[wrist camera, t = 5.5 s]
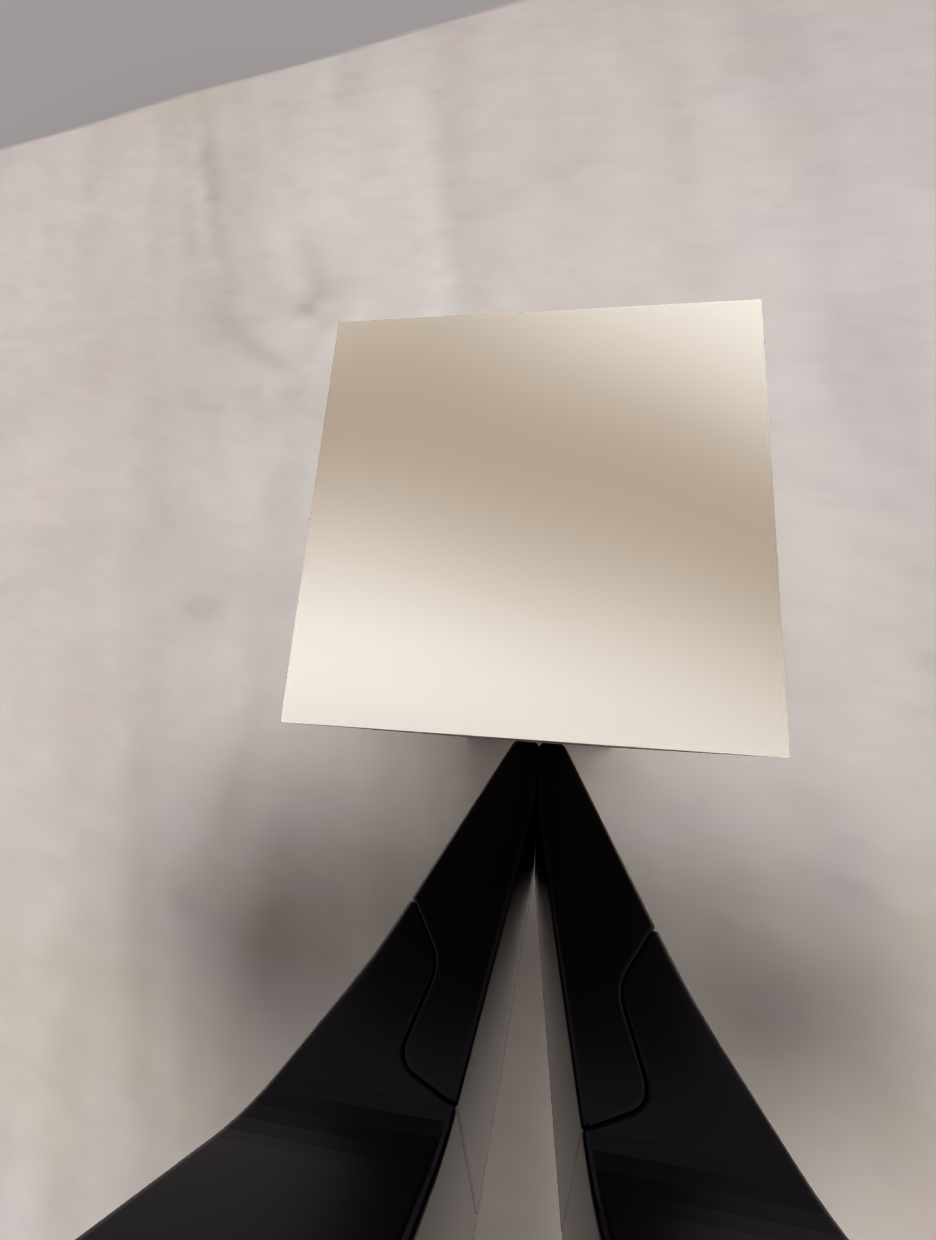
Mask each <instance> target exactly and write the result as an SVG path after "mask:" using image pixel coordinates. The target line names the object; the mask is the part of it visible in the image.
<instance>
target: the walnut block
mask: <svg viewBox="0 0 936 1240" xmlns="http://www.w3.org/2000/svg"><path fill="white" fill-rule="evenodd" d="M281 722H288V723H300V724H312V725H325V726H337V727H349V728H362V729H374V730H386V731H399V732H411V733H423V734H436V735H448V736H460V737H473V738H487V739H501V740H515V741H529V742H543V743H557V744H571V745H585V746H599V747H613V748H630V749H647V750H664V751H680V752H697V753H714V754H730V755H747V756H764V757H780V758H790V754H789V738H788V722H787V705H786V689H785V673H784V657H783V641H782V625H781V609H780V593H779V577H778V561H777V545H776V529H775V513H774V497H773V481H772V465H771V449H770V433H769V417H768V400H767V384H766V368H765V352H764V336H763V320H762V304H761V299H756V300H738V301H720V302H701V303H683V304H665V305H646V306H628V307H610V308H591V309H573V310H555V311H536V312H518V313H500V314H481V315H463V316H445V317H426V318H408V319H390V320H371V321H353V322H339V324H338V331H337V337H336V344H335V351H334V358H333V365H332V372H331V379H330V386H329V392H328V399H327V406H326V413H325V420H324V427H323V434H322V440H321V447H320V454H319V461H318V468H317V475H316V482H315V488H314V495H313V502H312V509H311V516H310V523H309V530H308V537H307V543H306V550H305V557H304V564H303V571H302V578H301V585H300V591H299V598H298V605H297V612H296V619H295V626H294V633H293V640H292V646H291V653H290V660H289V667H288V674H287V681H286V688H285V694H284V701H283V708H282V715H281Z"/></svg>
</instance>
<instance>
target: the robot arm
mask: <svg viewBox="0 0 936 1240" xmlns="http://www.w3.org/2000/svg"><path fill="white" fill-rule="evenodd" d="M534 861H535V890H536V904H537V917H538V930H539V943H540V957H541V970H542V983H543V996H544V1009H545V1023H546V1036H547V1049H548V1062H549V1076H550V1089H551V1102H552V1115H553V1129H554V1142H555V1155H556V1168H557V1182H558V1195H559V1208H560V1221H561V1231H562V1233H563V1235H562V1240H849V1239H848V1238H847V1237H846V1235H845V1234H844V1233H843V1231H842V1230H841V1229H840V1227H839V1226H838V1225H837V1223H836V1222H835V1221H834V1219H833V1218H832V1217H831V1215H830V1214H829V1213H828V1211H827V1210H826V1208H825V1207H824V1205H823V1204H822V1203H821V1201H820V1200H819V1198H818V1197H817V1195H816V1194H815V1193H814V1191H813V1190H812V1188H811V1187H810V1185H809V1184H808V1182H807V1180H806V1179H805V1177H804V1176H803V1174H802V1173H801V1171H800V1170H799V1168H798V1167H797V1165H796V1164H795V1162H794V1160H793V1159H792V1157H791V1156H790V1154H789V1152H788V1151H787V1149H786V1148H785V1146H784V1145H783V1143H782V1141H781V1140H780V1138H779V1137H778V1135H777V1133H776V1132H775V1130H774V1129H773V1127H772V1126H771V1124H770V1122H769V1121H768V1119H767V1118H766V1116H765V1114H764V1113H763V1111H762V1110H761V1108H760V1107H759V1105H758V1103H757V1102H756V1100H755V1099H754V1097H753V1096H752V1094H751V1092H750V1091H749V1089H748V1088H747V1086H746V1084H745V1083H744V1081H743V1080H742V1078H741V1077H740V1075H739V1073H738V1072H737V1070H736V1069H735V1067H734V1065H733V1064H732V1062H731V1061H730V1059H729V1058H728V1056H727V1054H726V1053H725V1051H724V1050H723V1048H722V1046H721V1045H720V1043H719V1041H718V1040H717V1038H716V1036H715V1035H714V1033H713V1031H712V1030H711V1028H710V1026H709V1025H708V1023H707V1021H706V1020H705V1018H704V1016H703V1015H702V1013H701V1011H700V1010H699V1008H698V1006H697V1005H696V1003H695V1001H694V1000H693V998H692V996H691V994H690V992H689V991H688V989H687V987H686V985H685V983H684V981H683V979H682V977H681V976H680V974H679V972H678V970H677V968H676V966H675V964H674V963H673V961H672V959H671V957H670V955H669V953H668V951H667V949H666V947H665V945H664V943H663V941H662V939H661V937H660V935H659V933H658V932H657V931H654V929H655V926H654V923H653V921H652V919H651V917H650V915H649V914H648V912H647V910H646V908H645V906H644V904H643V902H642V900H641V898H640V896H639V894H638V892H637V890H636V888H635V886H634V884H633V882H632V880H631V878H630V876H629V874H628V872H627V870H626V868H625V866H624V864H623V862H622V860H621V858H620V856H619V854H618V852H617V850H616V848H615V846H614V844H613V842H612V840H611V838H610V836H609V834H608V832H607V830H606V828H605V826H604V824H603V822H602V820H601V818H600V816H599V814H598V812H597V810H596V808H595V806H594V804H593V802H592V800H591V798H590V796H589V794H588V792H587V790H586V788H585V786H584V784H583V782H582V780H581V778H580V776H579V774H578V772H577V770H576V768H575V766H574V764H573V762H572V760H571V758H570V756H569V754H568V752H567V750H566V748H565V747H564V746H563V745H562V744H552V743H541V744H540V746H539V745H538V744H537V743H536V742H524V741H516V742H514V743H513V745H512V746H511V748H510V749H509V751H508V752H507V754H506V755H505V757H504V758H503V760H502V761H501V763H500V764H499V766H498V768H497V769H496V771H495V772H494V774H493V775H492V777H491V778H490V780H489V781H488V783H487V784H486V786H485V787H484V789H483V791H482V792H481V794H480V795H479V797H478V798H477V800H476V801H475V803H474V804H473V806H472V807H471V809H470V810H469V812H468V814H467V815H466V817H465V818H464V820H463V821H462V823H461V824H460V826H459V827H458V829H457V830H456V832H455V833H454V835H453V837H452V838H451V840H450V841H449V843H448V844H447V846H446V847H445V849H444V850H443V852H442V853H441V855H440V856H439V858H438V860H437V861H436V863H435V864H434V866H433V867H432V869H431V870H430V872H429V873H428V875H427V876H426V878H425V879H424V881H423V883H422V884H421V886H420V887H419V889H418V890H417V892H416V893H415V895H414V896H413V901H414V902H413V901H410V902H409V904H408V905H407V907H406V908H405V910H404V911H403V913H402V914H401V916H400V917H399V919H398V920H397V922H396V924H395V925H394V926H393V928H392V929H391V931H390V932H389V934H388V935H387V936H386V938H385V939H384V941H383V942H382V944H381V945H380V946H379V948H378V949H377V951H376V952H375V954H374V955H373V956H372V958H371V959H370V960H369V961H368V963H367V964H366V965H365V967H364V968H363V969H362V970H361V972H360V973H359V974H358V976H357V977H356V978H355V979H354V981H353V982H352V983H351V985H350V986H349V987H348V988H347V990H346V991H345V992H344V993H343V994H342V996H341V997H340V998H339V999H338V1001H337V1002H336V1003H335V1004H334V1005H333V1007H332V1008H331V1009H330V1010H329V1011H328V1013H327V1014H326V1015H325V1016H324V1018H323V1019H322V1020H321V1021H320V1022H319V1024H318V1025H317V1026H316V1027H315V1028H314V1030H313V1031H312V1032H311V1033H310V1035H309V1036H308V1037H307V1038H306V1039H305V1041H304V1042H303V1043H302V1044H301V1045H300V1047H299V1048H298V1049H297V1050H296V1052H295V1053H294V1054H293V1055H292V1056H291V1058H290V1059H289V1060H288V1061H287V1062H286V1064H285V1065H284V1066H283V1067H282V1069H281V1070H280V1071H279V1072H278V1073H277V1075H276V1076H275V1077H274V1078H273V1079H272V1080H271V1082H270V1083H269V1084H268V1085H267V1086H266V1087H265V1089H264V1090H263V1091H262V1092H261V1093H260V1094H259V1095H258V1096H257V1097H256V1098H255V1099H254V1100H253V1101H252V1102H251V1103H250V1104H249V1105H248V1106H247V1107H246V1108H245V1109H244V1110H243V1111H242V1112H241V1113H240V1114H239V1115H238V1116H237V1117H236V1118H235V1119H234V1120H232V1121H231V1122H230V1123H229V1124H228V1125H227V1126H226V1127H224V1128H223V1129H222V1130H221V1131H219V1132H218V1133H217V1134H216V1135H214V1136H213V1137H212V1138H210V1139H209V1140H208V1141H206V1142H205V1143H204V1144H202V1145H201V1146H200V1147H198V1148H197V1149H196V1150H194V1151H193V1152H192V1153H190V1154H189V1155H188V1156H186V1157H185V1158H184V1159H182V1160H181V1161H180V1162H178V1163H177V1164H176V1165H174V1166H173V1167H172V1168H170V1169H169V1170H168V1171H166V1172H165V1173H164V1174H162V1175H161V1176H160V1177H158V1178H157V1179H156V1180H154V1181H153V1182H152V1183H150V1184H149V1185H148V1186H146V1187H145V1188H144V1189H142V1190H141V1191H140V1192H138V1193H137V1194H136V1195H134V1196H133V1197H132V1198H130V1199H129V1200H128V1201H126V1202H125V1203H124V1204H122V1205H121V1206H120V1207H118V1208H117V1209H116V1210H114V1211H113V1212H111V1213H110V1214H109V1215H107V1216H106V1217H105V1218H103V1219H102V1220H101V1221H99V1222H98V1223H97V1224H95V1225H94V1226H93V1227H91V1228H90V1229H89V1230H87V1231H86V1232H85V1233H83V1234H82V1235H81V1236H79V1237H78V1238H77V1239H75V1240H473V1239H474V1233H475V1227H476V1215H477V1213H478V1208H479V1202H480V1196H481V1190H482V1184H483V1178H484V1172H485V1166H486V1160H487V1154H488V1148H489V1142H490V1136H491V1130H492V1124H493V1118H494V1112H495V1106H496V1100H497V1094H498V1088H499V1082H500V1076H501V1070H502V1064H503V1058H504V1052H505V1046H506V1039H507V1033H508V1027H509V1021H510V1015H511V1009H512V1003H513V997H514V991H515V985H516V979H517V973H518V967H519V961H520V955H521V949H522V943H523V937H524V931H525V925H526V919H527V913H528V907H529V901H530V895H531V889H532V881H533V874H534Z"/></svg>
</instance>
